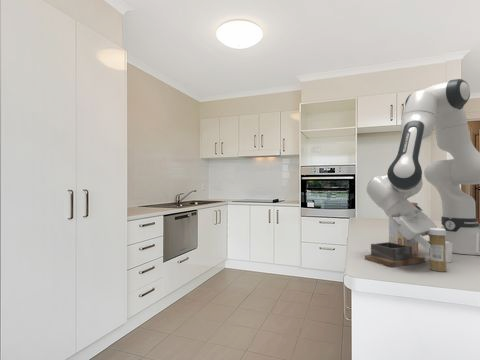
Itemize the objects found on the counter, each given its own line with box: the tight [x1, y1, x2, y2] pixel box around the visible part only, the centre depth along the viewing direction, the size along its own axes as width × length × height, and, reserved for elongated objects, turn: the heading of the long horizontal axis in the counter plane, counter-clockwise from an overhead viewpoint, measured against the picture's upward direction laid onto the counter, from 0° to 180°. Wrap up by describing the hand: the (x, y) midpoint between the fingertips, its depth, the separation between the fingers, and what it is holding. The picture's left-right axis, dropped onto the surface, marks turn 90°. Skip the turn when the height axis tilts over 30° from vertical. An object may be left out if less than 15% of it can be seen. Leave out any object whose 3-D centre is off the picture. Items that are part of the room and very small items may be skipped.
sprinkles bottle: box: [428, 227, 448, 273], centre depth 90 cm, size 5×5×14 cm
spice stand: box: [364, 241, 426, 268], centre depth 101 cm, size 17×11×6 cm, turn 112°
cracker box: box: [388, 201, 419, 256], centre depth 116 cm, size 14×6×21 cm, turn 173°
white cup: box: [445, 241, 453, 264], centre depth 101 cm, size 7×7×7 cm
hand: (435, 245), depth 90 cm, fingers open, 8 cm apart
